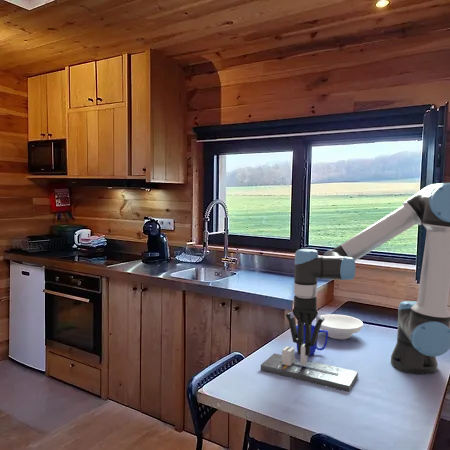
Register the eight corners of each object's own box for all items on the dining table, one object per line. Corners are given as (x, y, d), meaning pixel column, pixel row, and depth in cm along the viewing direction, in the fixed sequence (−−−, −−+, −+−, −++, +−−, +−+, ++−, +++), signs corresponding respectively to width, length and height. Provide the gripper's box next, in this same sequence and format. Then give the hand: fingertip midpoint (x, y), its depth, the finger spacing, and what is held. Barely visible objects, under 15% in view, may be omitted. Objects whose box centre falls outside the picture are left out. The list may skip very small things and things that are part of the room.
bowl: (355, 348, 167) (356, 331, 167) (308, 339, 178) (308, 323, 177) (367, 334, 184) (368, 319, 183) (323, 326, 194) (324, 311, 194)
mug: (327, 359, 157) (328, 332, 156) (294, 356, 159) (295, 329, 158) (327, 350, 165) (327, 325, 164) (295, 348, 167) (296, 323, 166)
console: (357, 377, 142) (358, 371, 142) (349, 392, 131) (349, 385, 131) (274, 358, 157) (274, 352, 156) (260, 370, 146) (260, 364, 146)
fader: (294, 361, 148) (294, 347, 148) (290, 365, 145) (290, 351, 145) (286, 360, 150) (286, 345, 149) (281, 363, 146) (282, 349, 146)
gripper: (327, 295, 143) (326, 363, 145) (291, 290, 149) (289, 356, 151) (320, 300, 136) (319, 372, 138) (282, 295, 143) (281, 363, 145)
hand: (303, 363), depth 145 cm, fingers closed
